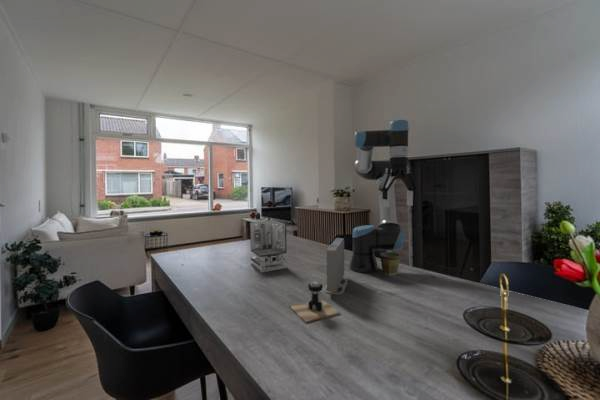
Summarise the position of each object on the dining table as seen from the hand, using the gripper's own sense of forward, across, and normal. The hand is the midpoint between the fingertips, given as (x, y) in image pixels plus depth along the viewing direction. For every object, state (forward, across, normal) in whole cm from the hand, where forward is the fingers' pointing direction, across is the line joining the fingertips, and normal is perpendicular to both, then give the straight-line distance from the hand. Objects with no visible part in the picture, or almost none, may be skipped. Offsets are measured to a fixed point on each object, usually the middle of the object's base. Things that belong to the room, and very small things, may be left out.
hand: (398, 206), depth 120 cm
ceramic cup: (+37, +12, +18) cm, 43 cm away
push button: (+36, -43, -1) cm, 56 cm away
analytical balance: (+37, -40, +58) cm, 80 cm away
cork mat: (+37, -43, -1) cm, 57 cm away
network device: (+37, -22, +15) cm, 46 cm away
